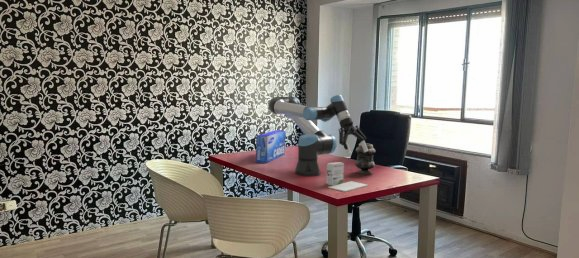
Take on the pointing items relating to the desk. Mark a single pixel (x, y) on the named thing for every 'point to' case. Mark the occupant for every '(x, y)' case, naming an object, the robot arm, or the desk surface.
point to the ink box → (335, 173)
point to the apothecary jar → (365, 159)
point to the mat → (347, 186)
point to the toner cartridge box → (270, 146)
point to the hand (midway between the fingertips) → (358, 152)
